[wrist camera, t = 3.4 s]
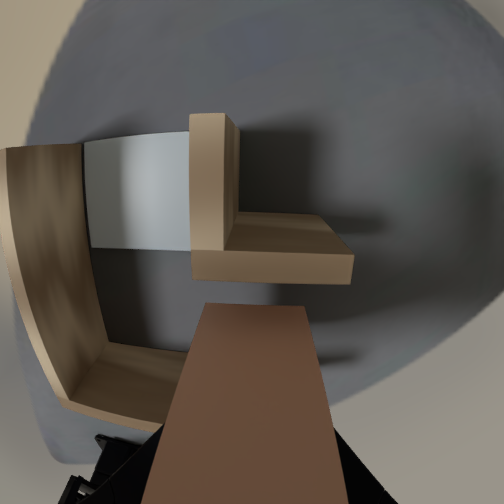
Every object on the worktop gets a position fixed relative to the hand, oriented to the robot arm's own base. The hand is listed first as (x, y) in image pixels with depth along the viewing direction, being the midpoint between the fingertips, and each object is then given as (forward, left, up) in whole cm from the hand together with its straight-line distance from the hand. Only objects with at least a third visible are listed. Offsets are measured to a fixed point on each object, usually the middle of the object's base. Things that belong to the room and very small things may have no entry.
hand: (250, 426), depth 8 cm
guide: (+2, +4, -8) cm, 10 cm away
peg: (0, 0, -4) cm, 4 cm away
